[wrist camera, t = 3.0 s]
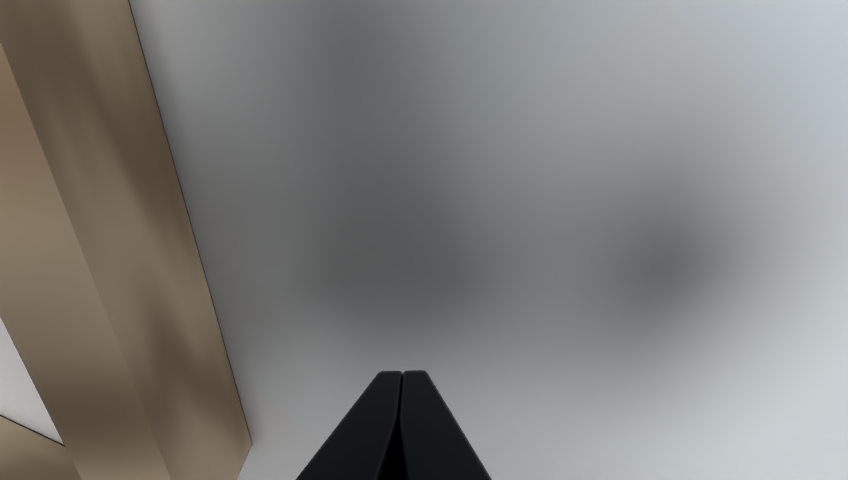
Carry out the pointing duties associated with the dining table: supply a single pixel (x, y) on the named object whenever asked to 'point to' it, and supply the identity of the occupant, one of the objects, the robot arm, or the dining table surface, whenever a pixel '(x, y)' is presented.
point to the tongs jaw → (106, 254)
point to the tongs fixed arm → (32, 456)
